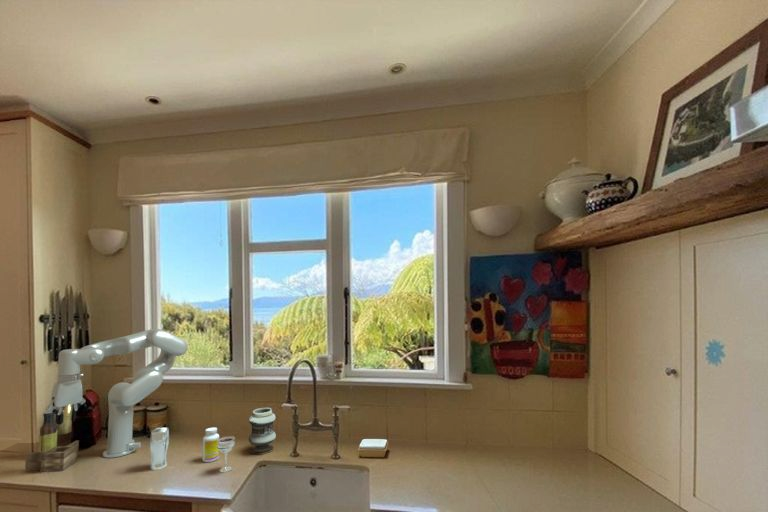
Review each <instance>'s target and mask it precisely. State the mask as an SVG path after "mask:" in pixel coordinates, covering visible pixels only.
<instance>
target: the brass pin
mask: <svg viewBox="0 0 768 512" xmlns="http://www.w3.org/2000/svg"><path fill="white" fill-rule="evenodd" d="M72 410H73V405H72V404H68V405H67V406H64V407H63V409H62V412H61V414H62V415H63V417H62V424H60V425H59V424H58V426H59V428H58V435H65V434H70V433H71V432H72V425H73V424H72V423H73V421H72Z"/></svg>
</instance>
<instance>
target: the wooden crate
mask: <svg viewBox="0 0 768 512" xmlns="http://www.w3.org/2000/svg"><path fill="white" fill-rule="evenodd" d="M79 443H80V440H74V441H73V442H71V443H69V444H68V445H63V446H57V447H54V448H53V449H51V450H49V451H44V452H39V451H34V452H27V453H26V455H25V456H26V457H25V465H24V467H25V469H24V470H25V472H26V471H27V472H28V471H29V472H30V471H38V470H40V472H39V473H42V474H43V473H51V472H53V473H54V472H55V473H56V472H64V471H65V470H67V469H68V468H69V467H71V466H72V465H74V464H76V461H77V457H78V456H79V447H80V444H79Z"/></svg>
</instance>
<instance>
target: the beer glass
mask: <svg viewBox="0 0 768 512" xmlns="http://www.w3.org/2000/svg"><path fill="white" fill-rule="evenodd" d="M169 442H170V429H169V427H167V426H166V427H157V428H154V429H152V430H151V432H150V439H149V447H150V454H151V464H150V468H149V469H150V470H152V471H157V470H161V469H164V468H165V467H167V466H168V462H167V453H168V448H169V445H170V444H169Z"/></svg>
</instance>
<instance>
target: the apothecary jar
mask: <svg viewBox="0 0 768 512" xmlns="http://www.w3.org/2000/svg"><path fill="white" fill-rule="evenodd" d="M276 418H277V417H276V414H275V413H273V409H272V408H271V407H261V408H259V407H258V408H256V409H254V410H252V415H251V416H250V417H249V419H248V421H249V424H250V425H251V434H249V437H248V442H249V443H250V444H251V445H253V446H254V447H253V448H251V450H250V452H251V454H253V455H257V454H258V455H263V454H267V453H270V452H272V451H273V450H274V447H273V446H272V445H270V444H271V443H273V442H274V441H275V439H276V437H277V434H276V432H275V431H274V422H275V420H276Z"/></svg>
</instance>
